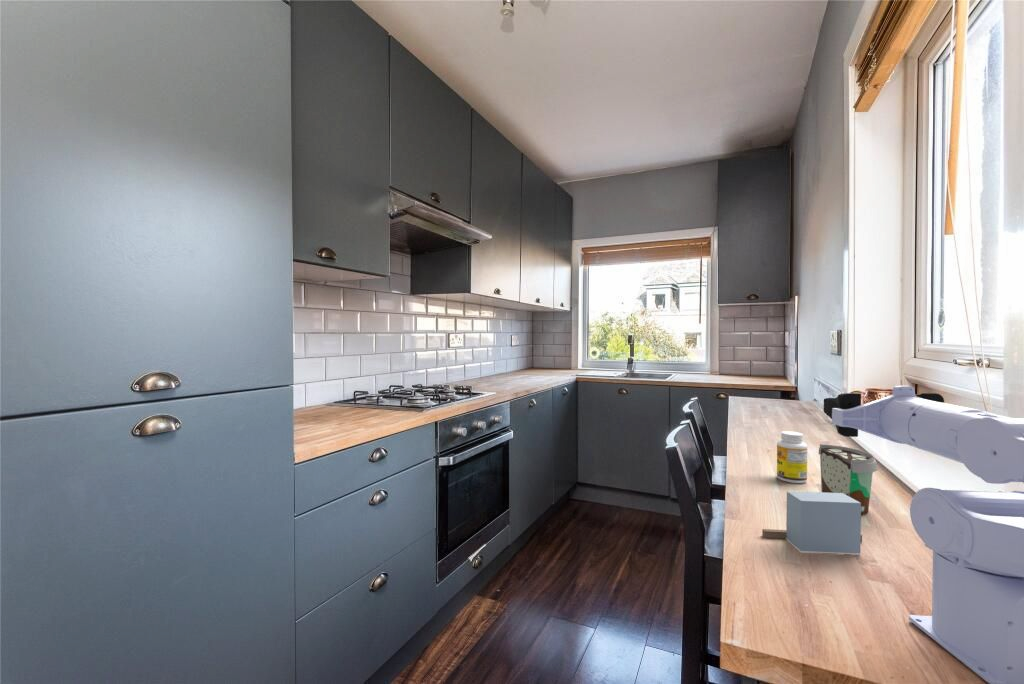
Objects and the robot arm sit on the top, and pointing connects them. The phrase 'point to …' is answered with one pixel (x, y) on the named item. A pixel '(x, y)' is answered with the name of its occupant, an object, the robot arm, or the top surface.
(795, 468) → the supplement bottle
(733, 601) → the top surface
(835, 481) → the food container
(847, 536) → the block
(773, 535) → the batten
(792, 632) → the top surface
